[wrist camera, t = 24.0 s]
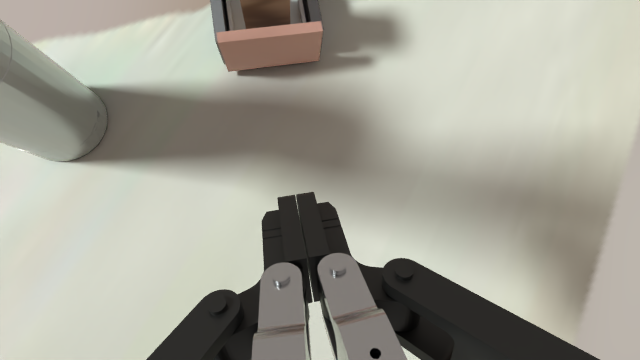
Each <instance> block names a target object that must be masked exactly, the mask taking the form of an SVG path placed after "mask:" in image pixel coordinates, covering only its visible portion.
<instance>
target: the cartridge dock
mask: <svg viewBox="0 0 640 360" xmlns="http://www.w3.org/2000/svg"><path fill="white" fill-rule="evenodd" d="M302 1H303V7H304V13H305V18H306V23H307V22H316V21H321V24H322V19H321V14H320V9H319V4H318V0H302ZM210 2H211V10H212V18H213V26H214V34H215V41H216V44H217V47H218V49H219V52H220V55H221V57H222V60H223V62H224V64H225V61H224V58H223V56H222V53H221V50H220V48H219V45H218V41H217V34H216V32H225V31H230V27H229V19H228V12H227V5H226V0H210ZM322 29H323V25H322ZM322 36H323V34H322ZM321 44H322V41H321ZM320 52H321V49H320Z"/></svg>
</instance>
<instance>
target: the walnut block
mask: <svg viewBox="0 0 640 360" xmlns="http://www.w3.org/2000/svg"><path fill="white" fill-rule="evenodd" d="M240 4H241V8H242V13H243V17H244V22H245V26H246V29H252V28H261V27H271V26H280V25H289V24H290V0H240Z"/></svg>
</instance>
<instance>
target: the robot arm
mask: <svg viewBox="0 0 640 360" xmlns="http://www.w3.org/2000/svg"><path fill="white" fill-rule="evenodd" d="M106 127H107V111H106V108H105V106H104V104H103V102H102V101H101V99H100V98H99V97H98V96H97V95H96V94H95V93H94V92H93V91H91V90H90V89H89V88H87V87H86V86H85V85H84V84H82V83H81V82H80V81H78V80H77V79H76V78H75V77H74V76H72V75H71V74H70V73H68V72H67V71H66V70H65V69H63V68H62V67H61V66H59V65H58V64H57V63H56V62H54V61H53V60H52V59H50V58H49V57H48V56H47V55H45V54H44V53H43V52H41V51H40V50H39V49H38V48H36V47H35V46H34V45H32V44H31V43H30V42H29V41H27V40H26V39H25V38H23V37H22V36H21V35H19V34H18V33H17V32H16V31H14V30H13V29H12V28H11V27H9V26H8V25H6V24H5V23H4V22H3V21H2V20H0V142H1V143H4V144H6V145H9V146H12V147H15V148H17V149H20V150H22V151H25V152H28V153H31V154H34V155H36V156H39V157H42V158H45V159H48V160H51V161H70V160H74V159H77V158H79V157H82V156H84V155H86V154H87V153H89V152H90V151H91V150H93V149H94V148H95V147H96V146H97V144H98V143H99V142H100V141H101V139H102V137H103V136H104V133H105V130H106ZM296 197H297V203H296V198H295V195H291V196H285V197H278V206H279V210H275V211H269V212H266V214H265V216H264V218H263V220H262V236H263V256H264V273H263V274H262V277H261V279H260V280H259V282H258V283H257V284H256V285H254V286H253V287H252V288H250V289H248V290H246V291H244V292H242V293H240V294H238V295H237V294H236V293H235V292H233V291H231V290H217V291H214V292H212V293H210V294H208V295H207V296H205V297H204V298H203V299H202V300H201V301H200V302H199V303H198V304H197V306H196V307H195V308H194V309H193V310H192V311H191V312H190V313H189V314H188V315H187V316H186V317H185V318H184V320H183V321H182V322H181V323H180V324H179V325H178V326H177V327H176V328H175V329H174V330H173V331H172V332H171V334H170V335H169V336H168V337H167V338H166V339H165V340H164V341H163V342H162V343H161V344H160V345H159V347H158V348H157V349H156V350H155V351H154V352H153V353H152V354H151V355H150V356H149V357H148V358H147V359H146V360H312V358H311V345H310V332H309V308H308V303H312V295H311V287H312V292H313V298H314V302H316V301H320V303H321V308H322V315H323V322H324V325H325V329H326V332H327V336H328V339H329V342H330V346H331V349H332V353H333V356H334V360H407V358H406V356H405V354H404V352H403V349H402V347H404V348H405V349H407V350H408V351H409V352H411V353H412V354H414V355H415V356H417V357H418V358H419V359H421V360H600V359H597V358H596V357H594V356H592V355H590V354H588V353H586V352H584V351H583V350H581V349H579V348H577V347H575V346H573V345H571V344H569V343H567V342H566V341H564V340H562V339H560V338H558V337H556V336H554V335H552V334H550V333H549V332H547V331H545V330H543V329H541V328H539V327H537V326H535V325H534V324H532V323H530V322H528V321H526V320H524V319H522V318H520V317H518V316H517V315H515V314H513V313H511V312H509V311H507V310H505V309H503V308H501V307H500V306H498V305H496V304H494V303H492V302H490V301H488V300H486V299H484V298H483V297H481V296H479V295H477V294H475V293H473V292H471V291H469V290H467V289H466V288H464V287H462V286H460V285H458V284H456V283H454V282H452V281H450V280H449V279H447V278H445V277H443V276H441V275H439V274H437V273H435V272H433V271H432V270H430V269H428V268H426V267H424V266H422V265H420V264H418V263H416V262H415V261H412V260H410V259H405V258H398V259H393V260H391V261H389V262H388V263H387V264H386V265H385V266H384V268H379V267H369V266H365V265H363V264H360V263H359V262H357V261H356V260H355V259H354V258H353V257H352V256H351V253H350V251H349V248H348V245H347V242H346V239H345V236H344V233H343V230H342V227H341V224H340V220H339V217H338V214H337V211H336V209H335V208H334V207H333V206H332V205H331V204H330V203H329V202H324V203H318V204H317V202H316V199H315V195H314V192H309V193H303V194H297V195H296ZM297 204H298V209H297ZM298 212H299V214H298ZM308 271H309V272H308ZM309 276H310V279H309ZM310 281H311V287H310ZM401 346H402V347H401Z"/></svg>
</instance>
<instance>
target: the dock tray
mask: <svg viewBox="0 0 640 360" xmlns="http://www.w3.org/2000/svg"><path fill="white" fill-rule="evenodd" d="M226 5H227V12H228V19H229V27H230V31H225V32H216V34H217V41H218V45H219V48H220V50H221V53H222V56H223V58H224V61H225V64H226V66H227V69H228V72H229V71H238V70H246V69H254V68H262V67H271V66H279V65H287V64H296V63H304V62H312V61H319V57H320V49H321V41H322V34H323V29H322V24H321V21H316V22H307V23H306V18H305V13H304V7H303V1H302V0H290V24H289V25H280V26H271V27H261V28H252V29H246V26H245V22H244V17H243V13H242V8H241V4H240V0H226Z"/></svg>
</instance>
